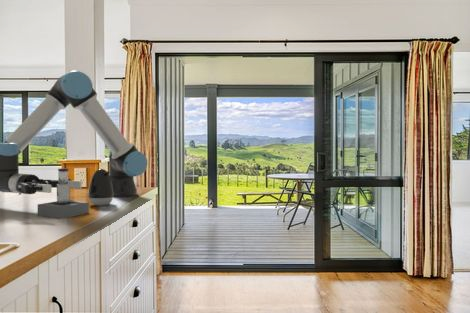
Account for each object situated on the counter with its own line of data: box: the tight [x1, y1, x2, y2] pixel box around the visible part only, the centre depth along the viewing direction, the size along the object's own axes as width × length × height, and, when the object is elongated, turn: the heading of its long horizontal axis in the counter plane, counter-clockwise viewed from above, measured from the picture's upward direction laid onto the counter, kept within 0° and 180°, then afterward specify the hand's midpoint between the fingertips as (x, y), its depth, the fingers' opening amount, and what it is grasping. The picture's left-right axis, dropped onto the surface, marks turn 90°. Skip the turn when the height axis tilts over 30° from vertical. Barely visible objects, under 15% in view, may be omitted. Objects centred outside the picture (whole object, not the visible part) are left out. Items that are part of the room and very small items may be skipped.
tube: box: [56, 167, 71, 205], centre depth 136 cm, size 4×4×17 cm
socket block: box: [37, 199, 90, 219], centre depth 136 cm, size 12×12×4 cm
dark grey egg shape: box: [87, 168, 114, 207], centre depth 157 cm, size 10×10×15 cm
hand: (66, 186), depth 135 cm, fingers open, 13 cm apart
